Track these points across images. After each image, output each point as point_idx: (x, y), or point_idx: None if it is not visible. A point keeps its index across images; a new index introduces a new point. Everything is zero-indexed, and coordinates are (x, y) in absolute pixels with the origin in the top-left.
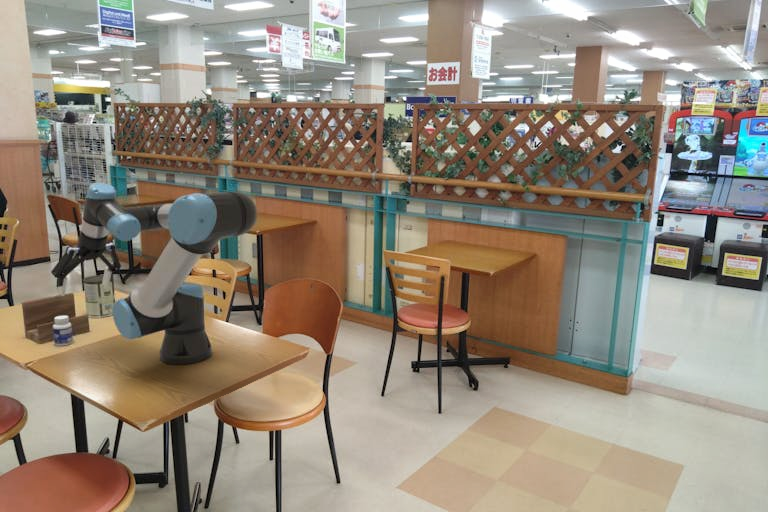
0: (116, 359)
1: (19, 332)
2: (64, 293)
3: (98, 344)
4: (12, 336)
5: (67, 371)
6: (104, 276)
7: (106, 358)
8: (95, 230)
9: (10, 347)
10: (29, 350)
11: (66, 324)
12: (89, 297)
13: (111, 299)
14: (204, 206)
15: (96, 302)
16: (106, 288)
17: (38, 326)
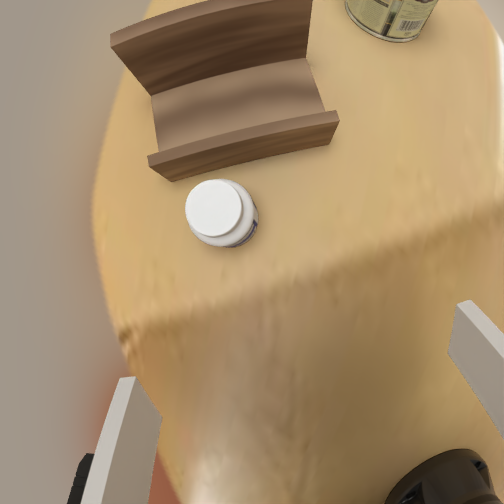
0: (315, 453)
1: None
2: (156, 433)
3: (319, 303)
4: None
5: (193, 455)
6: (497, 370)
7: (298, 434)
8: None
9: (106, 167)
10: (136, 227)
11: (230, 235)
12: None
13: (427, 11)
14: None
15: (383, 4)
16: (451, 351)
17: (150, 166)
